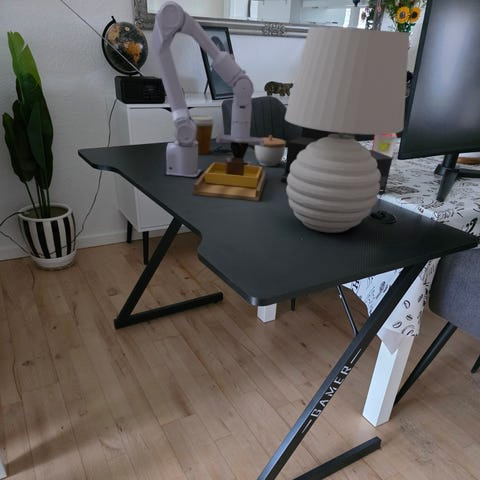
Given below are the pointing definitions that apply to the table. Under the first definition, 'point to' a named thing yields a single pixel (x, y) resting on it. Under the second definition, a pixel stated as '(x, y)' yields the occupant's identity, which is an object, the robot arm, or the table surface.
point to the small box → (382, 168)
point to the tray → (218, 175)
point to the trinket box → (270, 151)
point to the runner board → (229, 189)
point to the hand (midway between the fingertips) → (238, 168)
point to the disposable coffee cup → (203, 132)
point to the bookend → (302, 145)
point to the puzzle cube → (384, 143)
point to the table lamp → (344, 121)
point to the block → (234, 166)
